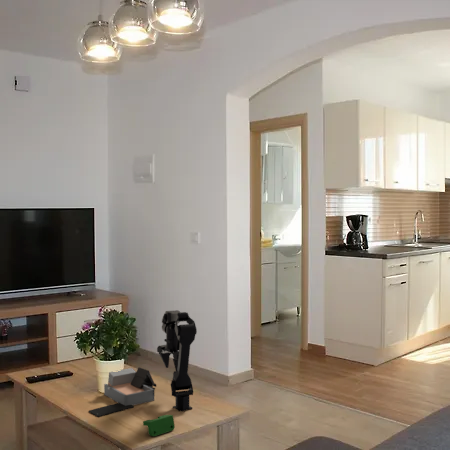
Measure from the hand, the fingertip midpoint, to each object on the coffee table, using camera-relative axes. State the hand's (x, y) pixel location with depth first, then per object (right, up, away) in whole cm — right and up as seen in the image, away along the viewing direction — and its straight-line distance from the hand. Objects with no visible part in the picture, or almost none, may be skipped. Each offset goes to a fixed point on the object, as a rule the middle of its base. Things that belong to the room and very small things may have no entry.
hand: (172, 369), depth 268 cm
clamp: (-1, -14, -44) cm, 46 cm away
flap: (-21, -12, -2) cm, 24 cm away
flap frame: (-20, -12, -3) cm, 24 cm away
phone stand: (-16, -4, +1) cm, 16 cm away
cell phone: (-25, -13, -19) cm, 34 cm away
